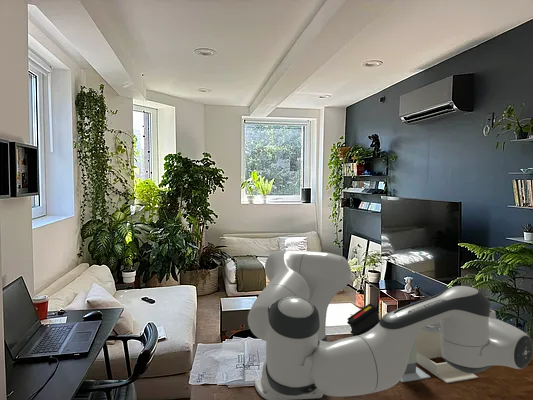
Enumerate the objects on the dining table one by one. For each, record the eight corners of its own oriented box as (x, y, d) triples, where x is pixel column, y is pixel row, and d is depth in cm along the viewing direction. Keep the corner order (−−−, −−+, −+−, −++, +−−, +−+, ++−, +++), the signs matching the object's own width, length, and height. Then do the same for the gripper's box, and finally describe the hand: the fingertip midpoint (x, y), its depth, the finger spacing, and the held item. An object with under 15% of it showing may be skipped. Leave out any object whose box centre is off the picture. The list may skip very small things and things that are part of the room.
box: (402, 374, 118) (402, 332, 117) (392, 367, 123) (392, 326, 122) (416, 372, 119) (416, 330, 119) (406, 365, 124) (406, 325, 124)
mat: (401, 382, 114) (401, 381, 114) (379, 364, 125) (379, 363, 125) (430, 377, 117) (430, 376, 117) (405, 360, 128) (405, 359, 128)
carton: (446, 383, 113) (447, 341, 113) (411, 359, 129) (412, 322, 129) (477, 377, 116) (478, 337, 116) (439, 355, 132) (440, 319, 132)
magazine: (390, 340, 141) (376, 305, 139) (363, 360, 137) (347, 325, 135) (384, 336, 145) (369, 302, 142) (357, 356, 141) (341, 321, 138)
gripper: (433, 343, 94) (399, 323, 108) (499, 334, 100) (459, 316, 113) (433, 317, 94) (399, 301, 108) (500, 310, 100) (460, 295, 113)
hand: (430, 309), depth 110 cm, fingers open, 8 cm apart
